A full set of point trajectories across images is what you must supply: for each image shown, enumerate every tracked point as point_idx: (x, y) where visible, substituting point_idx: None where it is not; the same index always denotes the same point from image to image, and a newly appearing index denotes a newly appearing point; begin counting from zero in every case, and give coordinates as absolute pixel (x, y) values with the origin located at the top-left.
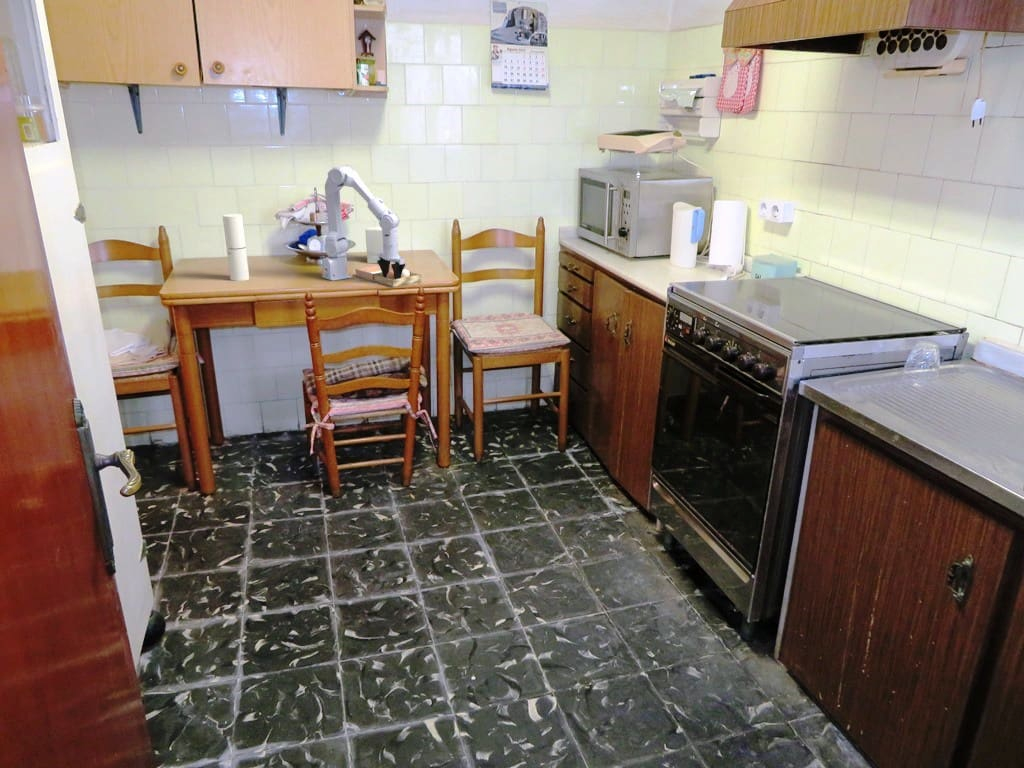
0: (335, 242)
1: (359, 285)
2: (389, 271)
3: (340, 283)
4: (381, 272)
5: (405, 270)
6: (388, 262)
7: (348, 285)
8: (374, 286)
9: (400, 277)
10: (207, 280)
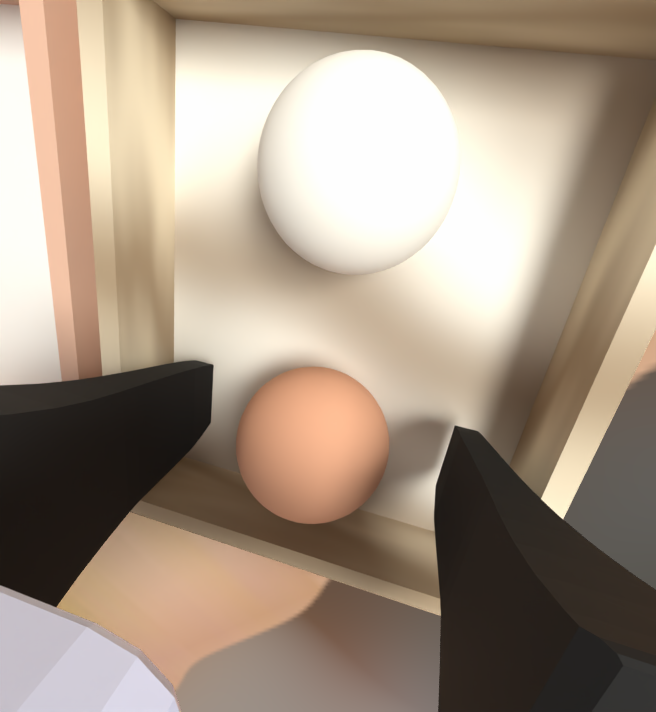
0: None
1: (193, 607)
2: (68, 242)
3: (65, 609)
4: (67, 372)
5: (388, 188)
6: (3, 472)
7: (142, 632)
8: (308, 589)
9: (496, 459)
10: None
